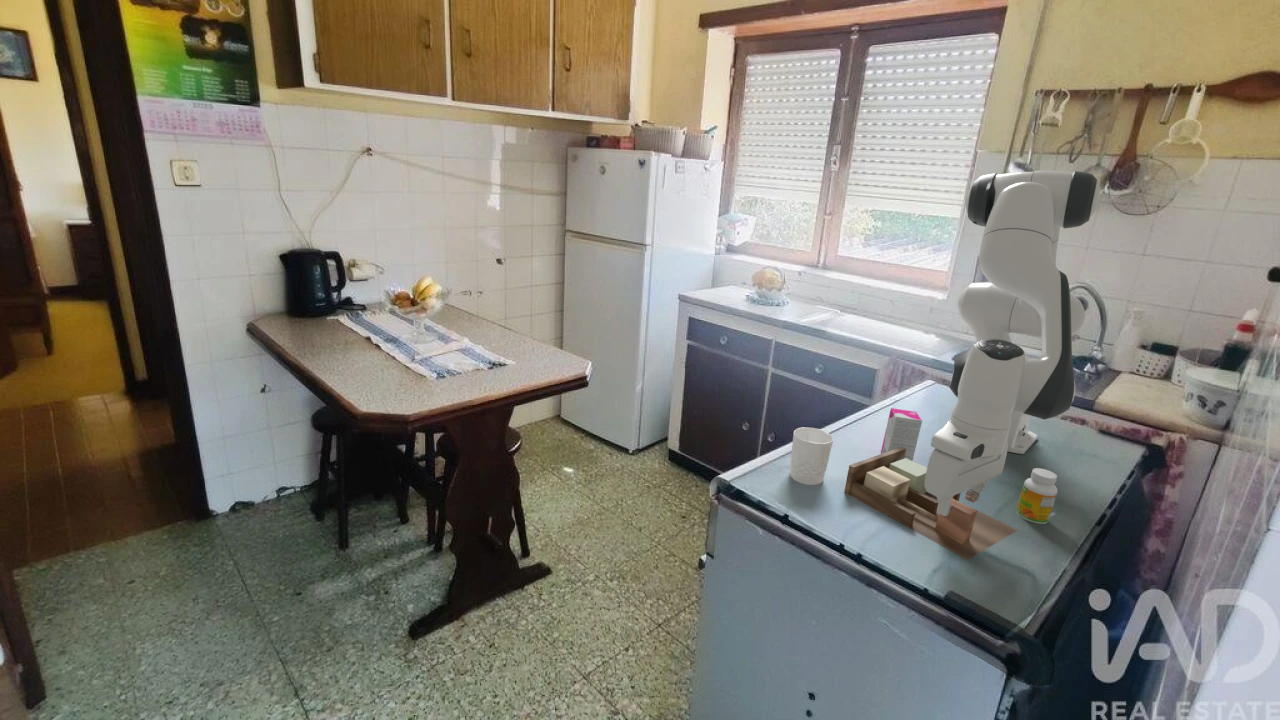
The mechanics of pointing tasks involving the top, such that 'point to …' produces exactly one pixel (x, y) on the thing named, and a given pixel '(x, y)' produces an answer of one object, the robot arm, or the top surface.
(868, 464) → the walnut rack
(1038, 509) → the supplement bottle
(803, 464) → the white cup
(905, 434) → the supplement box
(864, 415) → the top surface
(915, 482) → the sage block
